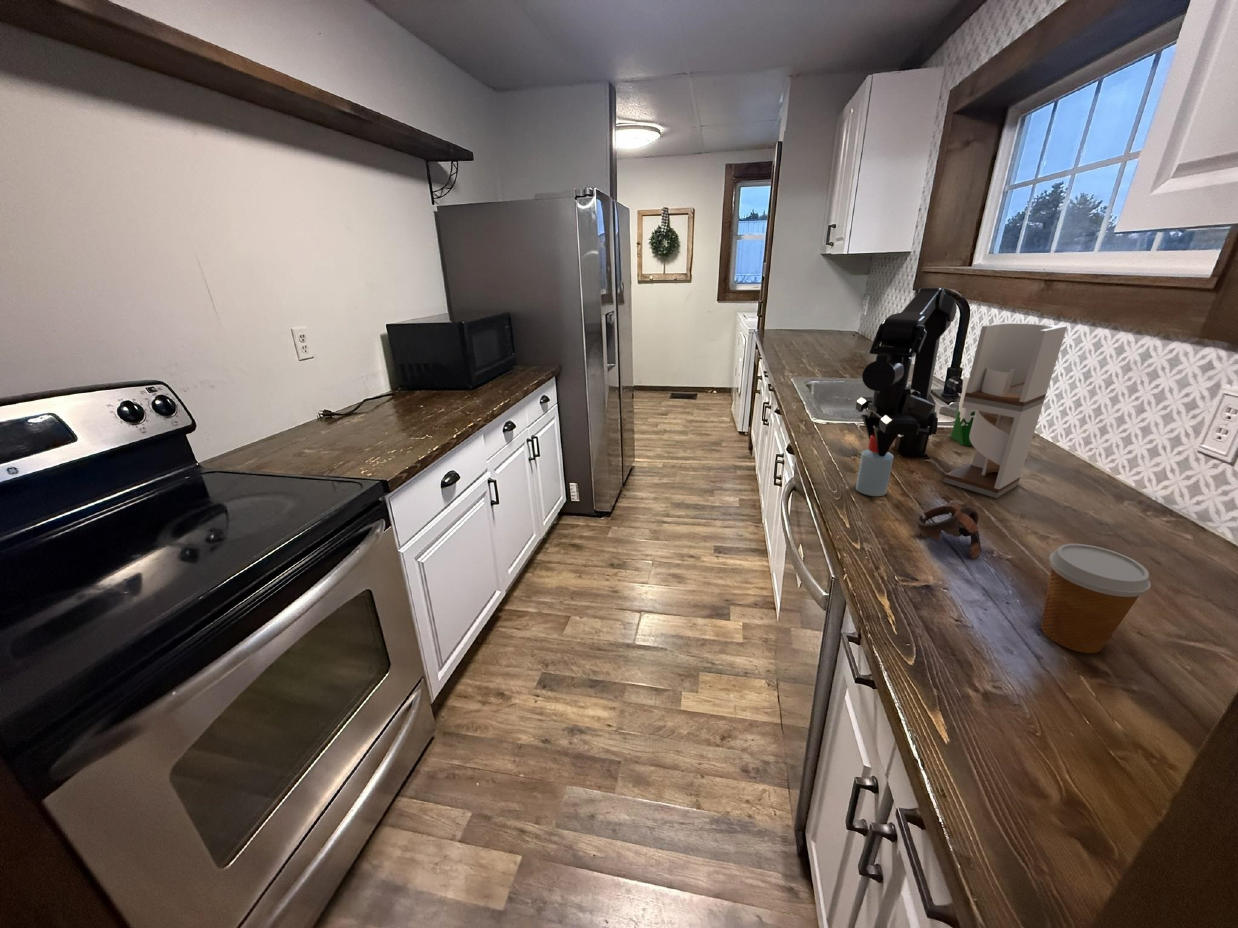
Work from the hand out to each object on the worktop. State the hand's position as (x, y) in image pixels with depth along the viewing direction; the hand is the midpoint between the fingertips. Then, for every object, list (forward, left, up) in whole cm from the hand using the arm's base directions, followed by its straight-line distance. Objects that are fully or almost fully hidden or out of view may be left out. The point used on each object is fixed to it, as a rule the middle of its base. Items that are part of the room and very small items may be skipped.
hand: (878, 452), depth 107 cm
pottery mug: (-6, +22, -9) cm, 25 cm away
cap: (0, 0, +1) cm, 1 cm away
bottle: (0, 0, -9) cm, 9 cm away
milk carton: (-39, -36, -9) cm, 54 cm away
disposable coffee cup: (-10, +46, -9) cm, 48 cm away
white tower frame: (-26, -6, -9) cm, 28 cm away
